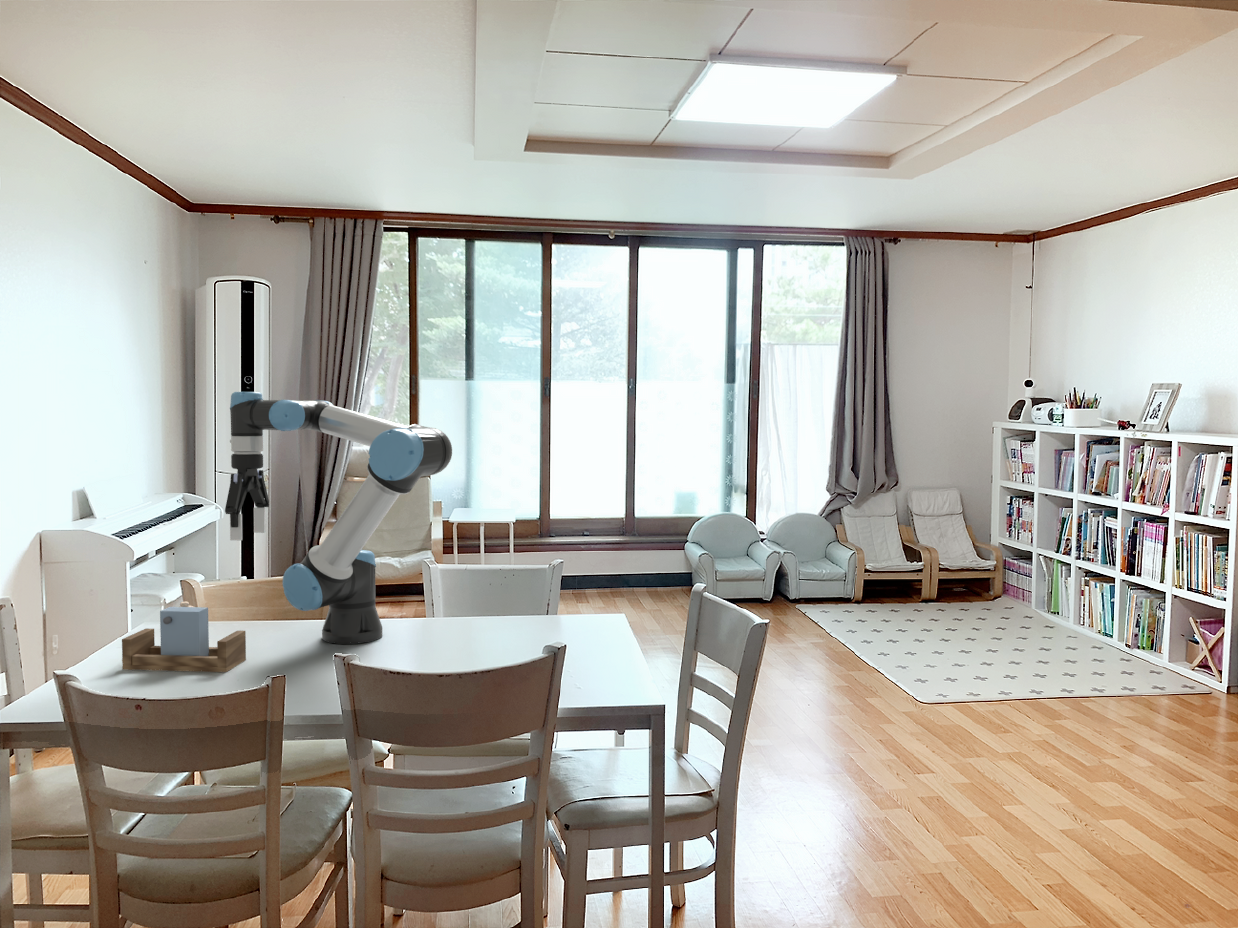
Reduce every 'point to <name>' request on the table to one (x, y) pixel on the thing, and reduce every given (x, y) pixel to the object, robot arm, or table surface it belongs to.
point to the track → (147, 656)
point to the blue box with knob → (184, 631)
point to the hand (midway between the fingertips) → (248, 536)
